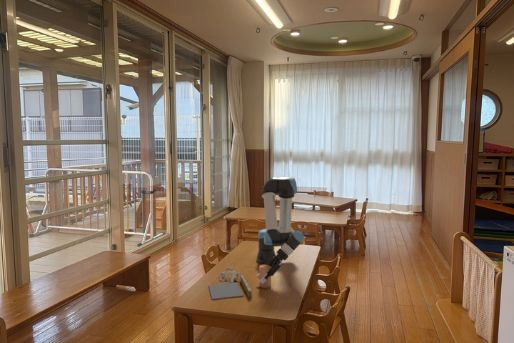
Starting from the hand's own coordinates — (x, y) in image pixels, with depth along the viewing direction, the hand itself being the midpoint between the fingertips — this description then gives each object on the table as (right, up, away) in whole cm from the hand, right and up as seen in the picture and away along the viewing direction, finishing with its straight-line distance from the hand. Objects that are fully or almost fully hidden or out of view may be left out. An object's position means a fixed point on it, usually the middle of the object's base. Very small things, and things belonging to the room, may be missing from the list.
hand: (259, 280), depth 225 cm
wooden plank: (-8, -5, -3) cm, 10 cm away
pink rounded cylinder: (+3, -4, +1) cm, 5 cm away
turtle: (-19, -4, +12) cm, 23 cm away
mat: (-21, -5, -6) cm, 22 cm away
